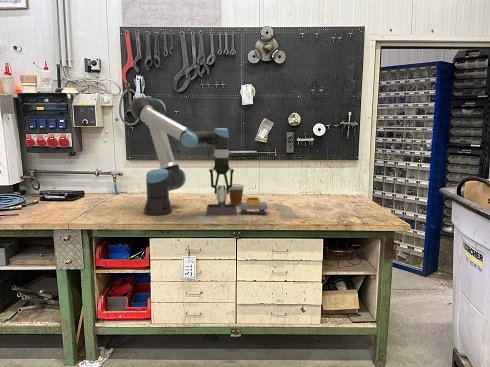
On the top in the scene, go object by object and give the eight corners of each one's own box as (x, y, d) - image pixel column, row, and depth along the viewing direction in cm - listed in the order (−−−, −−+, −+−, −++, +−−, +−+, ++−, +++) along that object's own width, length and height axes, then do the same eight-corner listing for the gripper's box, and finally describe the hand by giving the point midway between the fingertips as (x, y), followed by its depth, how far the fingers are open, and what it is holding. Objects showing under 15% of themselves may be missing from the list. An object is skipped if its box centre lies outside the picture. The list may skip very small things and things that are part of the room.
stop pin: (218, 210, 204) (217, 186, 202) (218, 208, 208) (218, 185, 206) (225, 210, 204) (225, 186, 202) (225, 208, 208) (225, 185, 206)
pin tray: (206, 215, 201) (206, 207, 201) (207, 211, 210) (207, 204, 210) (236, 215, 202) (236, 207, 201) (236, 211, 211) (236, 204, 210)
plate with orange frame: (239, 215, 202) (239, 200, 201) (239, 211, 211) (239, 197, 210) (267, 214, 203) (267, 200, 201) (265, 211, 212) (265, 197, 210)
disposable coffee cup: (231, 207, 221) (231, 187, 219) (225, 204, 229) (225, 184, 227) (246, 206, 224) (246, 186, 222) (240, 202, 233) (240, 183, 231)
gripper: (205, 157, 197) (205, 201, 201) (237, 157, 198) (237, 201, 202) (206, 156, 205) (206, 198, 208) (237, 156, 205) (237, 198, 209)
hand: (221, 199), depth 205 cm, fingers closed on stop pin, 4 cm apart
